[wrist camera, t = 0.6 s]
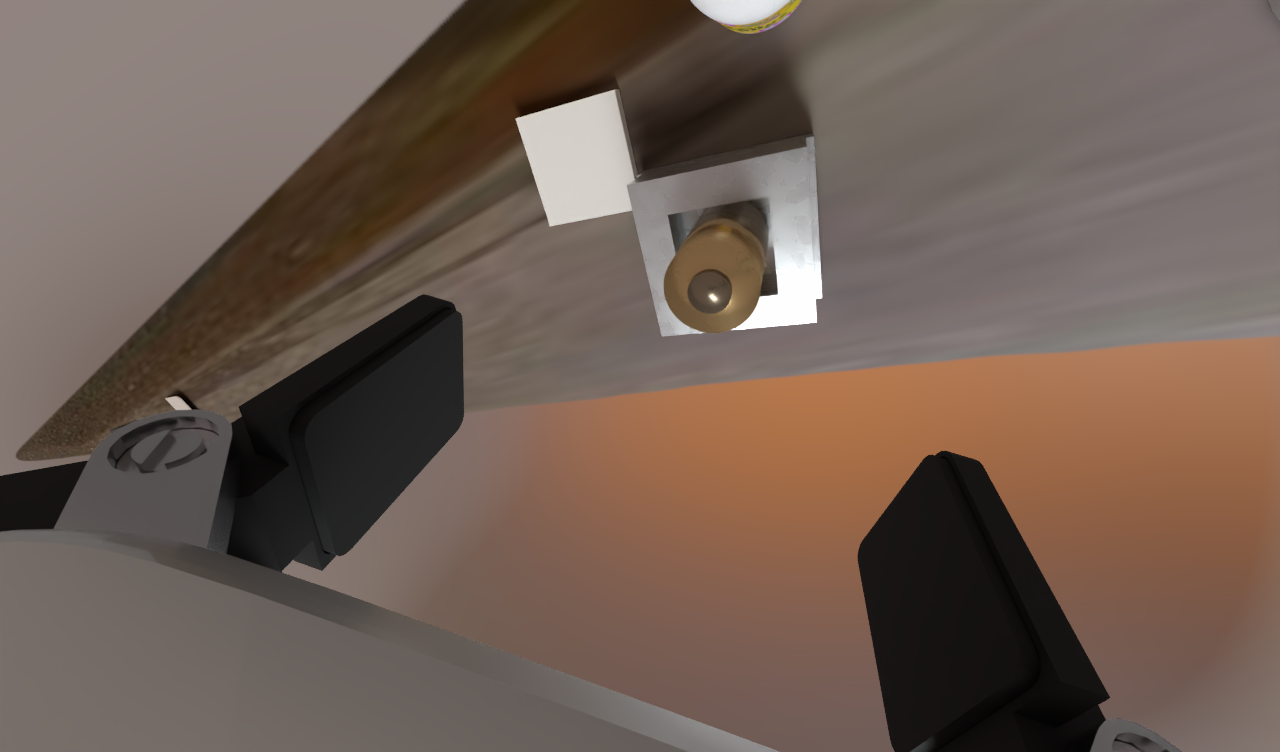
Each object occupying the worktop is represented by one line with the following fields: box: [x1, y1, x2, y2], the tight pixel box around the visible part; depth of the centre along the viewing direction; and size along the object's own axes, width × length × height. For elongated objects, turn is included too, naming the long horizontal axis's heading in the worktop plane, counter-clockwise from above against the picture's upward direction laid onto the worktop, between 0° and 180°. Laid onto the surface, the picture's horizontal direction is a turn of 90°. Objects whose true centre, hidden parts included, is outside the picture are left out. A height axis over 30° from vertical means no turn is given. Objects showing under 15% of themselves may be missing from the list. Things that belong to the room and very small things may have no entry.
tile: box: [516, 89, 638, 226], centre depth 36 cm, size 8×8×1 cm
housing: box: [627, 133, 822, 336], centre depth 34 cm, size 12×11×6 cm
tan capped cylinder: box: [664, 201, 769, 333], centre depth 30 cm, size 5×5×11 cm
